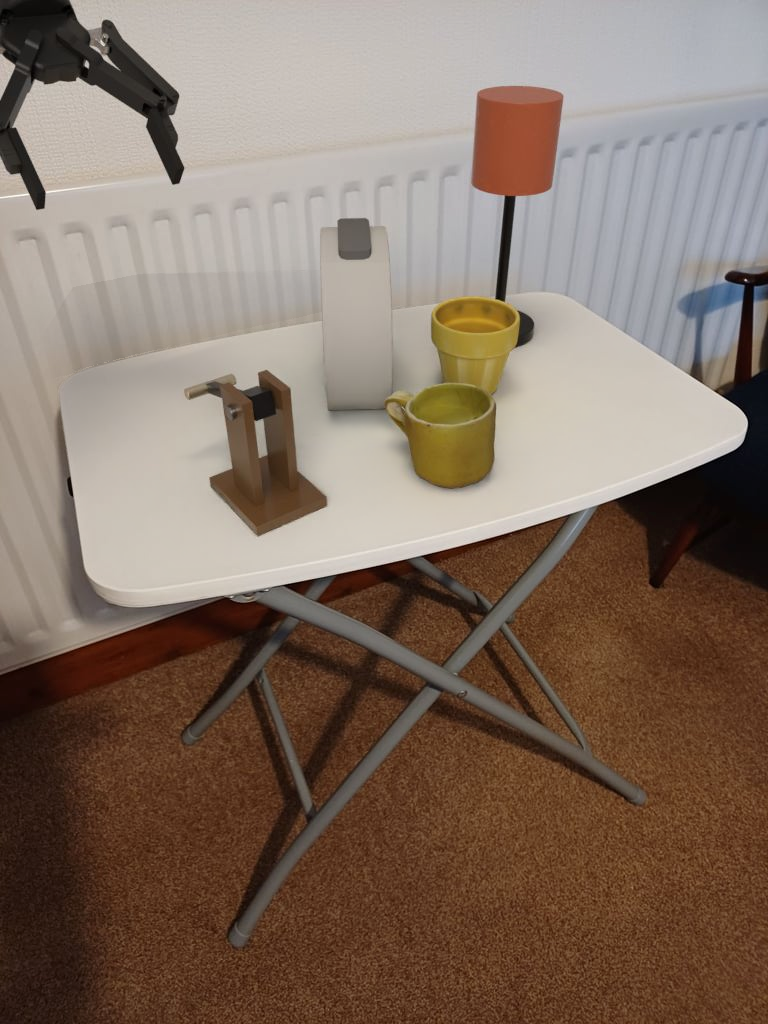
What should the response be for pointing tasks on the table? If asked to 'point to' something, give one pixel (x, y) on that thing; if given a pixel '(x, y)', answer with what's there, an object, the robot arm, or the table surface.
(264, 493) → the wooden lever stand
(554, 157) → the lamp
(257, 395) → the switch lever
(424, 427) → the mug
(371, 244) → the alarm clock
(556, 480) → the table surface
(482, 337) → the flower pot
